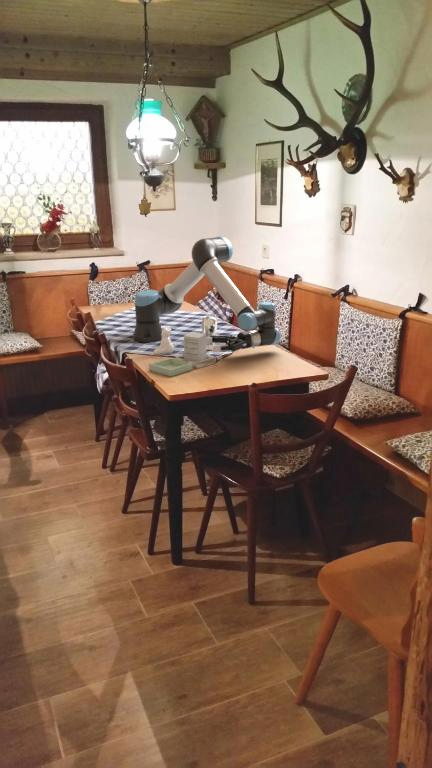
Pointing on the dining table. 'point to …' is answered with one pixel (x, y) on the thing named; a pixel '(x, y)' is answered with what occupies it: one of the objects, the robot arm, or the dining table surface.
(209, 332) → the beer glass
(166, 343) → the white creature statuette
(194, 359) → the supplement box
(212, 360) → the beige square tray
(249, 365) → the dining table surface
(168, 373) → the green tray
